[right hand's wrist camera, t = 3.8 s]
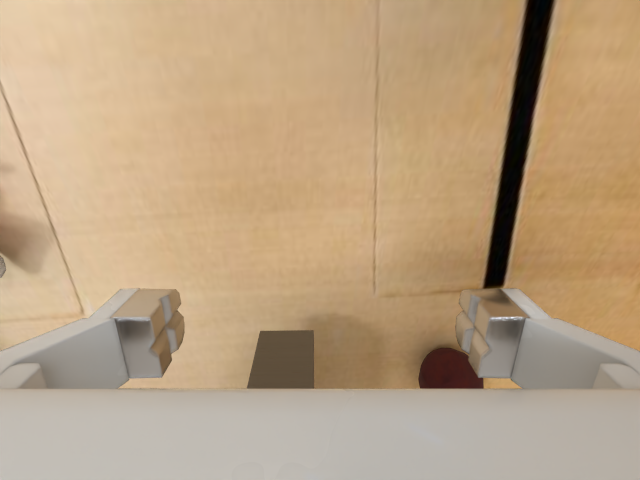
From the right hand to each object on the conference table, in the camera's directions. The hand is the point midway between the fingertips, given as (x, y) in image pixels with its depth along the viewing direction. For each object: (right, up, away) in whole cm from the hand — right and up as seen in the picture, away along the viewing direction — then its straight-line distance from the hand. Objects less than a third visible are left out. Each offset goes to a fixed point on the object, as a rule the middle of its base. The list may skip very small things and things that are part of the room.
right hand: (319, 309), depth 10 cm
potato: (+16, -13, +35) cm, 41 cm away
